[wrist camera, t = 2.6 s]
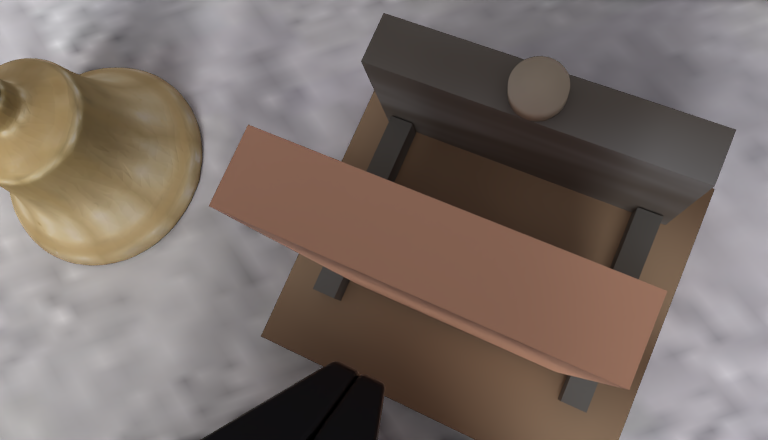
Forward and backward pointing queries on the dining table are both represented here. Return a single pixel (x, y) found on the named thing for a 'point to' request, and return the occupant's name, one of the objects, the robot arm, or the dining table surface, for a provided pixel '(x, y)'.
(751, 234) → the dining table surface
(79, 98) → the hand bell
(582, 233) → the switch base
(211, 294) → the dining table surface
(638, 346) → the reddish brown rectangular bar
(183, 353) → the dining table surface
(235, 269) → the dining table surface
